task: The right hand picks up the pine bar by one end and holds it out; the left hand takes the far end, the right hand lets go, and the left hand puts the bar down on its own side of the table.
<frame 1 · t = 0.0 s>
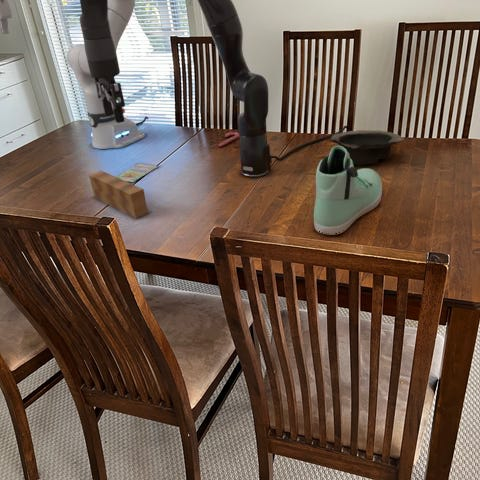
left hand: (0, 33, 160), 48 cm above the table, tool pointing down, fingers open, 8 cm apart
right hand: (114, 118, 131), 29 cm above the table, tool pointing down, fingers open, 8 cm apart
stone bowl: (364, 156, 171), on the table
sneaker: (348, 208, 139), on the table
baking ingredient package: (136, 173, 172), on the table
candy cane: (227, 141, 194), on the table
bar: (120, 204, 152), on the table
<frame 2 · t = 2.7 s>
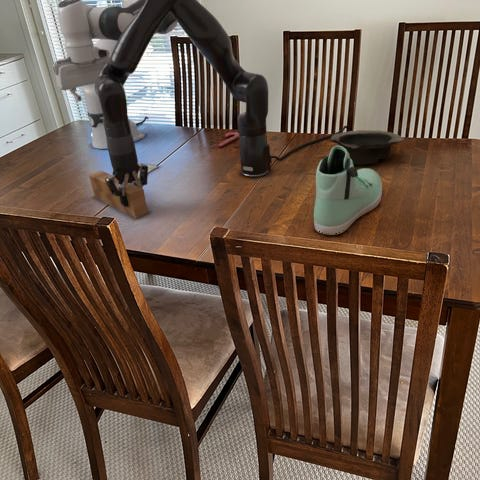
left hand: (91, 97, 163), 27 cm above the table, tool pointing down, fingers open, 8 cm apart
right hand: (133, 202, 145), 3 cm above the table, tool pointing down, fingers closed on bar, 4 cm apart
bar: (120, 204, 152), on the table, touching right hand
everything else where it was.
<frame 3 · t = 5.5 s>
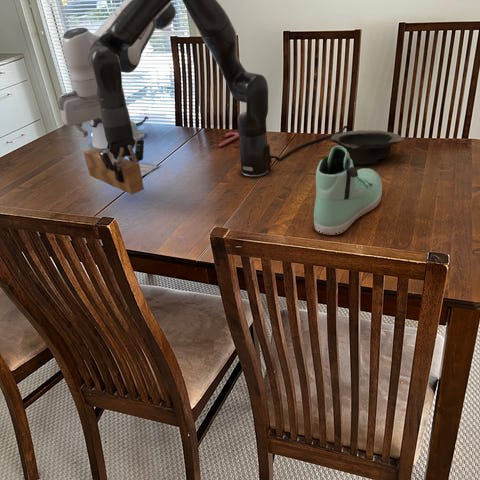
left hand: (97, 132, 151), 20 cm above the table, tool pointing down, fingers open, 8 cm apart
right hand: (128, 178, 141), 11 cm above the table, tool pointing down, fingers closed on bar, 4 cm apart
bar: (115, 182, 147), point 8 cm above the table, touching right hand
everything else where it was.
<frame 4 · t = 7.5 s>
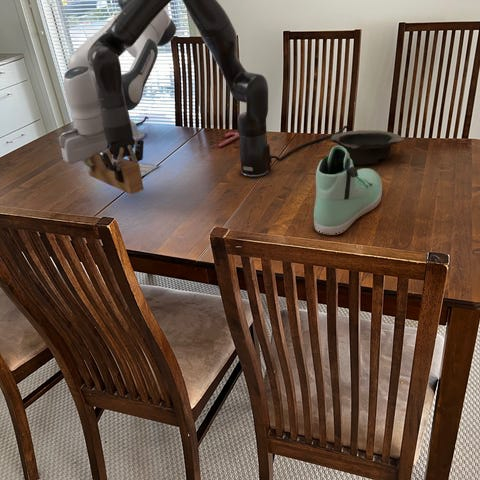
left hand: (99, 167, 151), 11 cm above the table, tool pointing down, fingers closed on bar, 4 cm apart
right hand: (128, 178, 141), 11 cm above the table, tool pointing down, fingers closed on bar, 4 cm apart
bar: (115, 182, 147), point 8 cm above the table, touching left hand, right hand
everything else where it was.
when the right hand's fingers open (11 cm above the table, at t = 8.4 s): bar stays where it is, held by the left hand.
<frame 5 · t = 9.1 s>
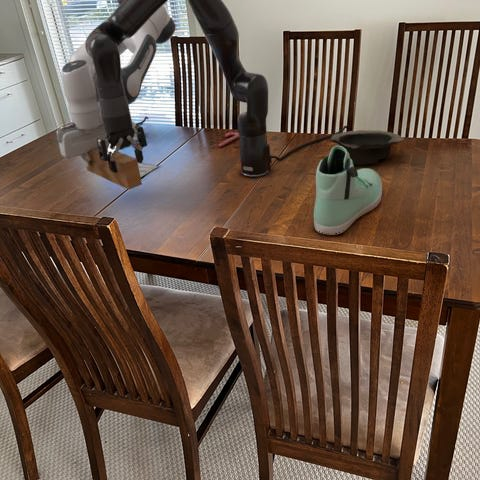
left hand: (97, 162, 150), 12 cm above the table, tool pointing down, fingers closed on bar, 4 cm apart
right hand: (127, 167, 138), 15 cm above the table, tool pointing down, fingers open, 8 cm apart
bar: (113, 177, 147), point 10 cm above the table, touching left hand
everything else where it was.
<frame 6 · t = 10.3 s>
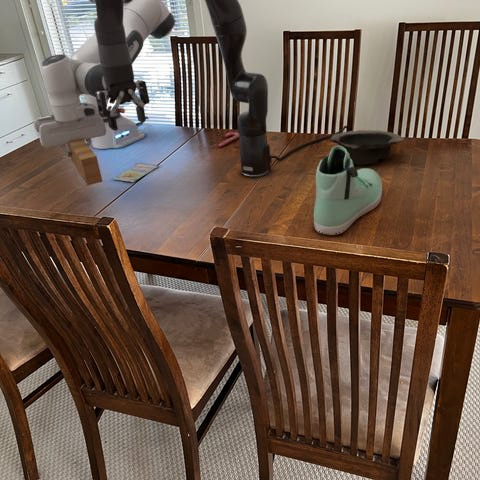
left hand: (78, 154, 154), 14 cm above the table, tool pointing down, fingers closed on bar, 4 cm apart
right hand: (128, 125, 128), 28 cm above the table, tool pointing down, fingers open, 8 cm apart
bar: (86, 170, 150), point 11 cm above the table, touching left hand
everything else where it was.
when the left hand's fingers open (5 cm above the table, at t = 13.5 s): bar stays where it is, on the table.
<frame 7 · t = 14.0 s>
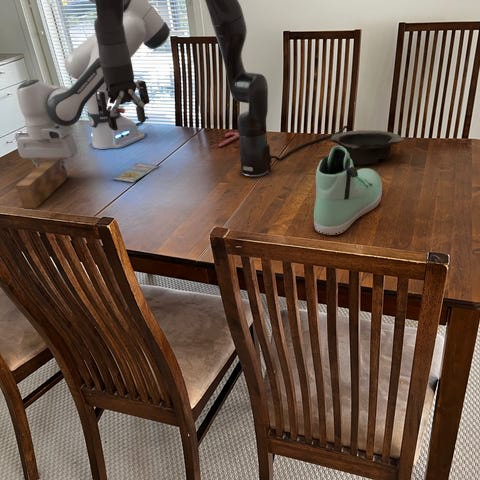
left hand: (53, 169, 168), 5 cm above the table, tool pointing down, fingers open, 8 cm apart
right hand: (128, 125, 128), 28 cm above the table, tool pointing down, fingers open, 8 cm apart
bar: (47, 191, 164), on the table
everything else where it was.
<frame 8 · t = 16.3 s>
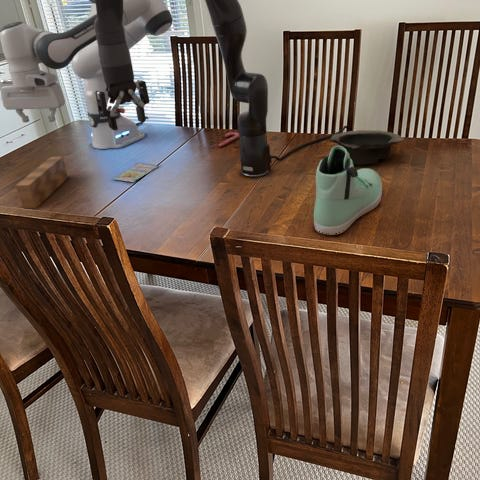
left hand: (39, 121, 159), 22 cm above the table, tool pointing down, fingers open, 8 cm apart
right hand: (128, 125, 128), 28 cm above the table, tool pointing down, fingers open, 8 cm apart
nothing on the table moved.
at the end: bar inside the target area (7.9 cm from its centre), on the table; the left hand is holding nothing; the right hand is holding nothing; bar at rest at the end (0.0 cm/s) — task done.
